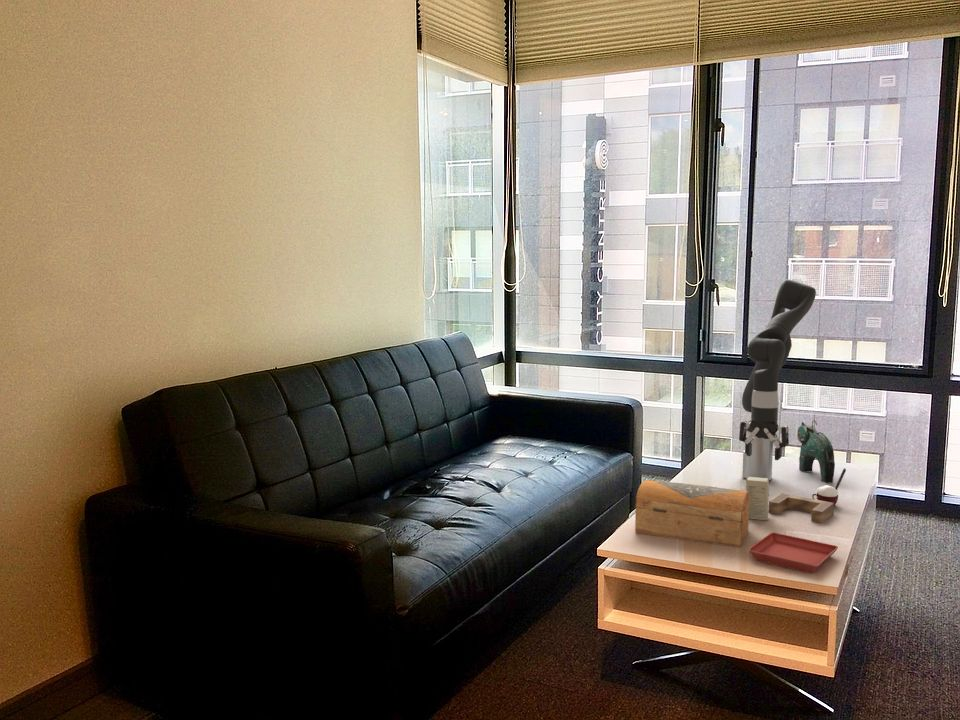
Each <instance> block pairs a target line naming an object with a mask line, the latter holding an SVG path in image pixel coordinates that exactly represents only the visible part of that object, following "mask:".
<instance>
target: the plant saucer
mask: <svg viewBox="0 0 960 720" xmlns="http://www.w3.org/2000/svg"><path fill="white" fill-rule="evenodd" d="M838 548H839V546H838V545H834V544H829V543H824V542H820V541H816V540H815V541H814V540H811V539H806V538H803V537H802V538H801V537H796V536H792V535H789V534H788V535H786V534H782V533H778V532H769V534H767V535H766V536H764V537H763V538H762V539H761V540H759V541H758V542H756V543H754V545H752V546H751V547H749V548H748V549H747V550H748V552H749V553H750V555H751V556H752V557H753V558H754V559H755V560H756V561H759V562H763V563H768V564H770V565H775V566H780V567H784V568H788V569H792V570H797V571H801V572H805V573H810V574H812V573H814V572H815V571H816V570H818V569H819V568H820V567H821V566H822V565H823V564H824V563H826V561H828V559H830V558H831V557H832V555H834V554H835V552H836V551H837V550H838Z"/></svg>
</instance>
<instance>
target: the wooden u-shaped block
mask: <svg viewBox="0 0 960 720" xmlns="http://www.w3.org/2000/svg"><path fill="white" fill-rule="evenodd" d="M834 506H835V505H834V503H832V502H827V501H821V500H818V499H816V498H814V499H813V498H810V497H804V496H798V495H794V494H788V493H780V494H779V495H777V496H775V497H774V498H772V499H771V500H768V514H775V515H779V514H781V513H782V512H784V511H786V509H792V510H797V511H800V512H801V511H802V512H805V513H807V512H808V513H811V522H815V523H819V524H822V523H824V522H825V521H826V520H828V519H829V518H830V517H831V516H832V515H833V514H834Z"/></svg>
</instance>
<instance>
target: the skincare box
mask: <svg viewBox="0 0 960 720" xmlns="http://www.w3.org/2000/svg"><path fill="white" fill-rule="evenodd" d="M769 482H770V480H769V478H759V477H748V478H747V479H746V482H745V484H746V485H745V491H746V492H749V496H750V507H749V519H750V520H758V521H759V520H760V521H768V519H769V501H770V500H769V491H770V489H769V487H770V486H769V485H770V483H769Z"/></svg>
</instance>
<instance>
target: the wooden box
mask: <svg viewBox="0 0 960 720" xmlns="http://www.w3.org/2000/svg"><path fill="white" fill-rule="evenodd" d="M749 507H750V496H749V492H746V490H742V489H741V490H740V489H732V488H724V487H717V486H716V487H715V486H709V485H702V484H691V483H683V482H682V483H681V482H670V481H669V482H668V481H661V480H660V481H659V480H653V479H650V480H649V479H648V480H647V479H646V480H643V481H642V482H641V483H640V485H639V487H638V490H637V492H636V497H635V515H634V516H635V518H634V519H635V525H634V526H635V528H634V529H635V530H634V531H635V533H637V534H642V535H648V536H655V537H664V538H670V539H677V540H684V541H689V542H698V543H703V544H711V545H718V546H726V547H731V548H732V547H733V548H740V549H741V548H742V546H743V545H744V542H745V540H746V537H747V534H748V532H749V523H750V522H749Z"/></svg>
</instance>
